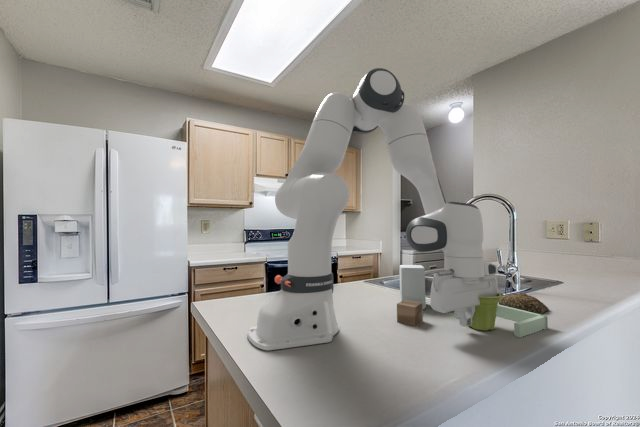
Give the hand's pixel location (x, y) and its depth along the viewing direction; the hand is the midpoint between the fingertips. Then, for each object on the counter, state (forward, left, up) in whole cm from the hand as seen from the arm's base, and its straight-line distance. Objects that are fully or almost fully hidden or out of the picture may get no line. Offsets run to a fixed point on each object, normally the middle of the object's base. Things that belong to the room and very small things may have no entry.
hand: (465, 325), depth 72 cm
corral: (+13, 0, -2) cm, 13 cm away
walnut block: (-6, +12, -2) cm, 14 cm away
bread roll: (+33, +4, -2) cm, 33 cm away
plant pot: (+6, 0, -2) cm, 6 cm away
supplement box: (+6, +23, -2) cm, 24 cm away
